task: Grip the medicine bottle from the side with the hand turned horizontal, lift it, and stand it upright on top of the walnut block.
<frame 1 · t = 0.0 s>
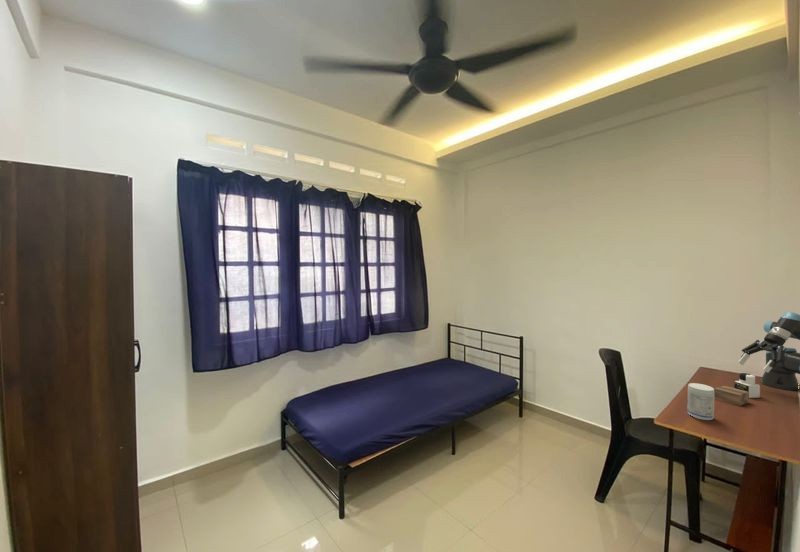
hand: (752, 367, 183), 15 cm above the table, tool tilted 35°, fingers open, 13 cm apart
walnut block: (731, 401, 175), on the table
medicine bottle: (746, 395, 181), on the table
supplement tub: (700, 416, 158), on the table
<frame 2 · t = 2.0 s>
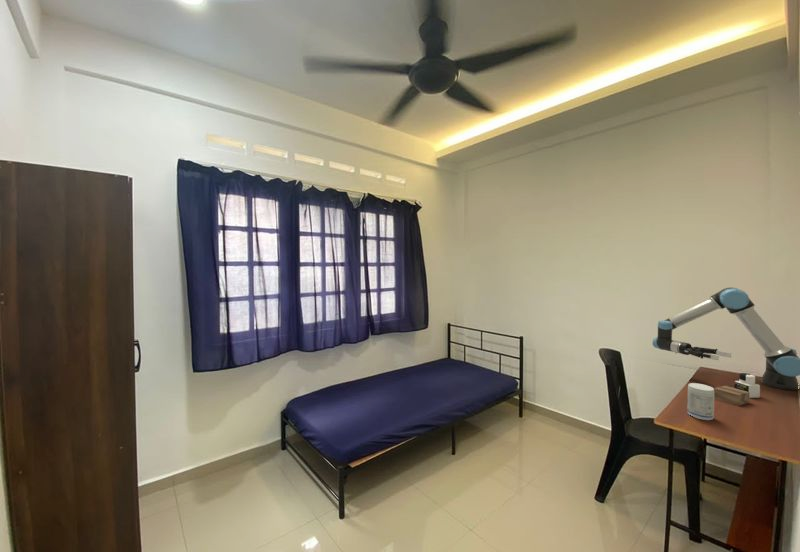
hand: (724, 356, 190), 19 cm above the table, tool horizontal, fingers open, 13 cm apart
nothing on the table moved.
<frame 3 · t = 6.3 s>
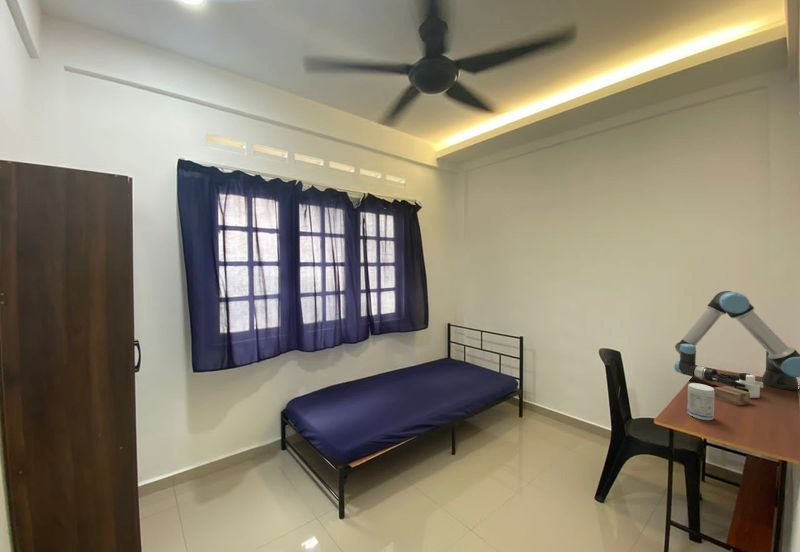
hand: (758, 386, 177), 7 cm above the table, tool horizontal, fingers closed on medicine bottle, 9 cm apart
medicine bottle: (746, 395, 181), on the table, touching gripper
everything else where it was.
when the fingers open (14 cm above the table, at t = 10.4 s): medicine bottle drops 2 cm, point 6 cm above the table.
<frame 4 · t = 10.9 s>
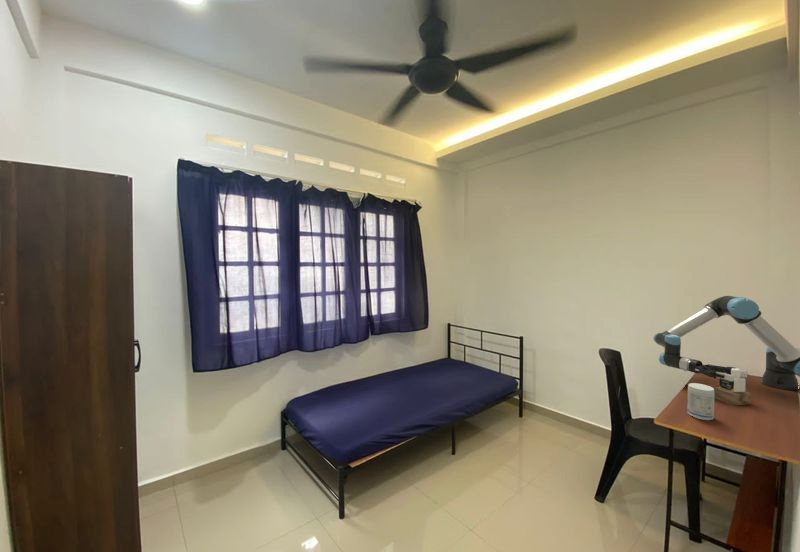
hand: (740, 376, 171), 14 cm above the table, tool horizontal, fingers open, 13 cm apart
medicine bottle: (731, 390, 174), point 6 cm above the table
everything else where it was.
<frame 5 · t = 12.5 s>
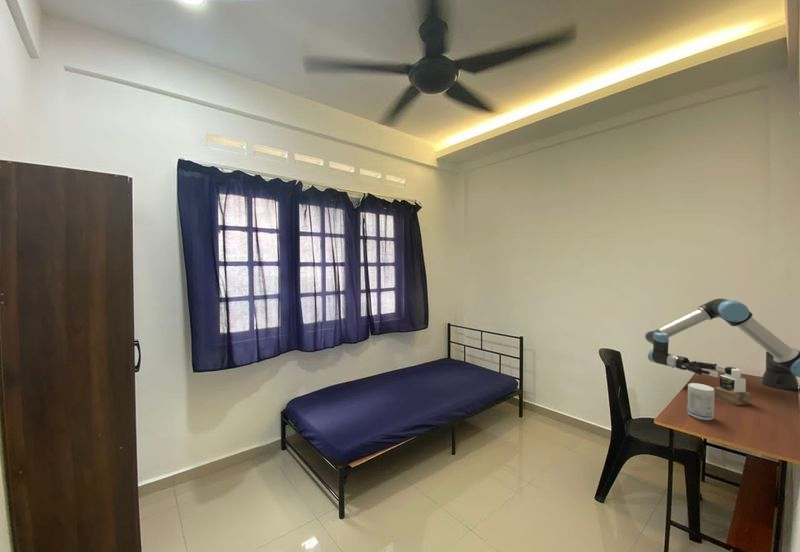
hand: (724, 373, 177), 14 cm above the table, tool horizontal, fingers open, 13 cm apart
walnut block: (731, 401, 175), on the table, touching medicine bottle
medicine bottle: (732, 390, 174), point 6 cm above the table, touching walnut block
everything else where it was.
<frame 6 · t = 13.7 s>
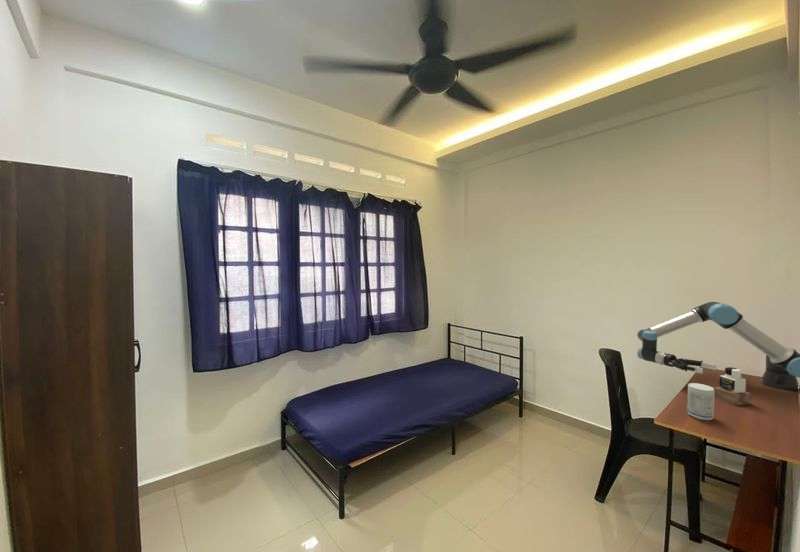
hand: (709, 369, 183), 14 cm above the table, tool horizontal, fingers open, 13 cm apart
walnut block: (731, 401, 175), on the table
medicine bottle: (732, 390, 174), point 6 cm above the table
everything else where it was.
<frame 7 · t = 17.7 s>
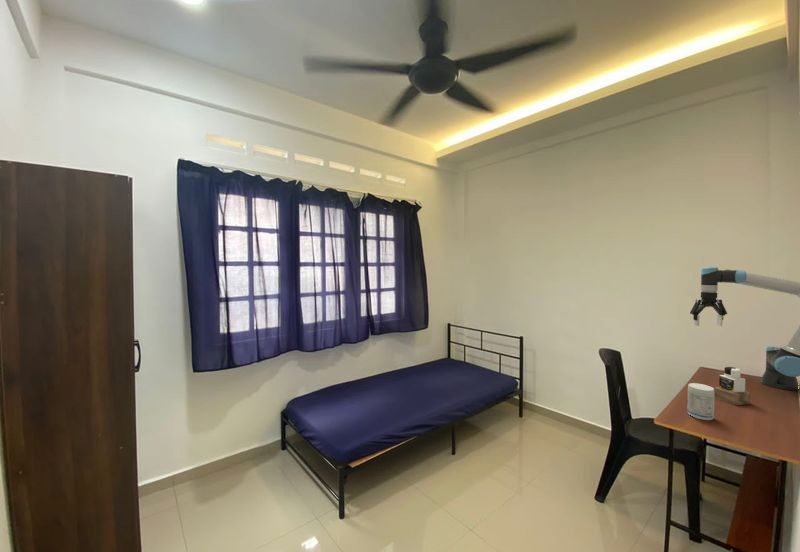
hand: (708, 325, 204), 35 cm above the table, tool pointing down, fingers open, 13 cm apart
nothing on the table moved.
at the end: medicine bottle 0.3 cm off-centre on the walnut block, point 5.9 cm above the walnut block's base; medicine bottle tilted 1°; the gripper is holding nothing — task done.
